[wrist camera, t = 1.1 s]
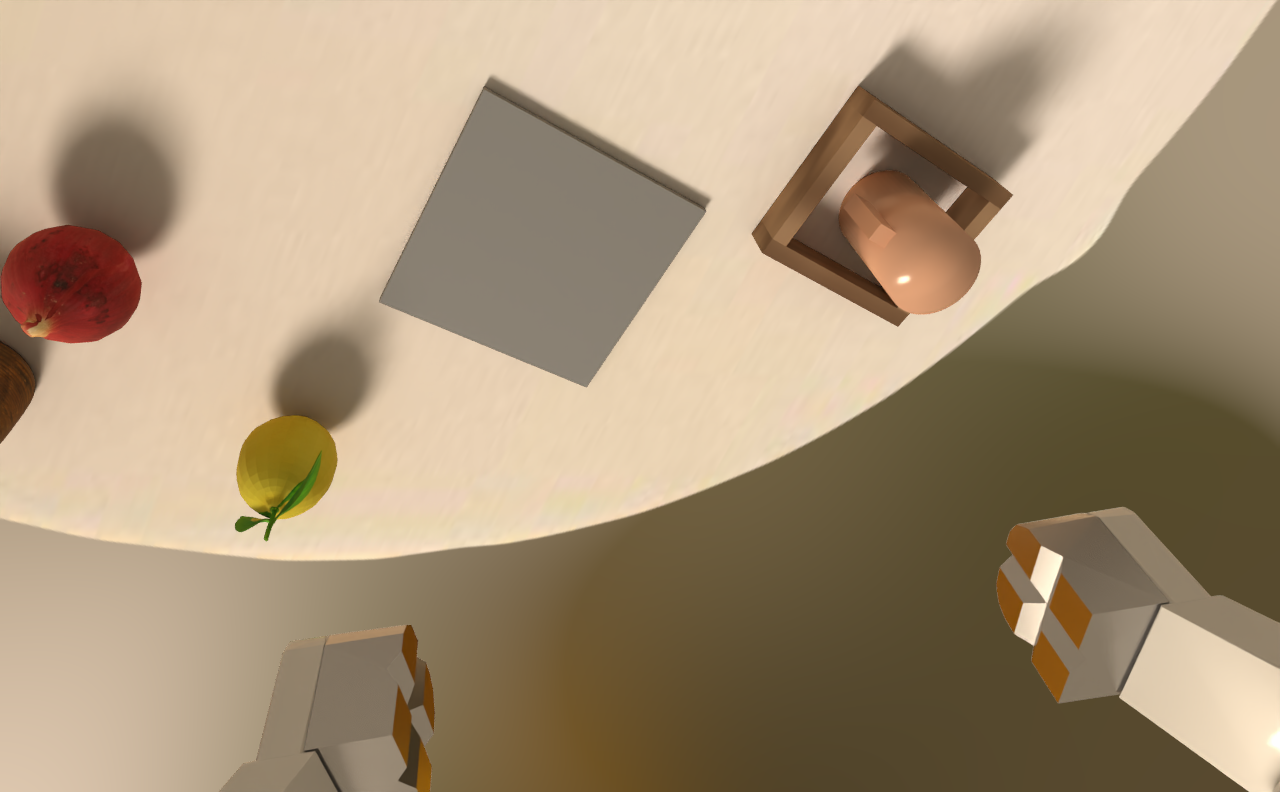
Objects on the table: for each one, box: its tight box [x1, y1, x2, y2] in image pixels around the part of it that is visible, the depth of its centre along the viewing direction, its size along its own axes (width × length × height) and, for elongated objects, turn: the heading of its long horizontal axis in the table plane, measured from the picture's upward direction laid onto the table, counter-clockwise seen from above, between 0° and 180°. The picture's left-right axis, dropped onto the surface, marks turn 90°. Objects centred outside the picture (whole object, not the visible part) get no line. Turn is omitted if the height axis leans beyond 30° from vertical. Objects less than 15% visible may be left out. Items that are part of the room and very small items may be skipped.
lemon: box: [235, 415, 337, 541], centre depth 49 cm, size 7×6×10 cm
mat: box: [379, 87, 706, 387], centre depth 48 cm, size 14×14×1 cm
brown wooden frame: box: [752, 86, 1013, 326], centre depth 49 cm, size 10×11×2 cm
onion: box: [1, 225, 142, 343], centre depth 42 cm, size 6×6×8 cm
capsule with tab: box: [839, 170, 981, 314], centre depth 47 cm, size 5×6×8 cm
